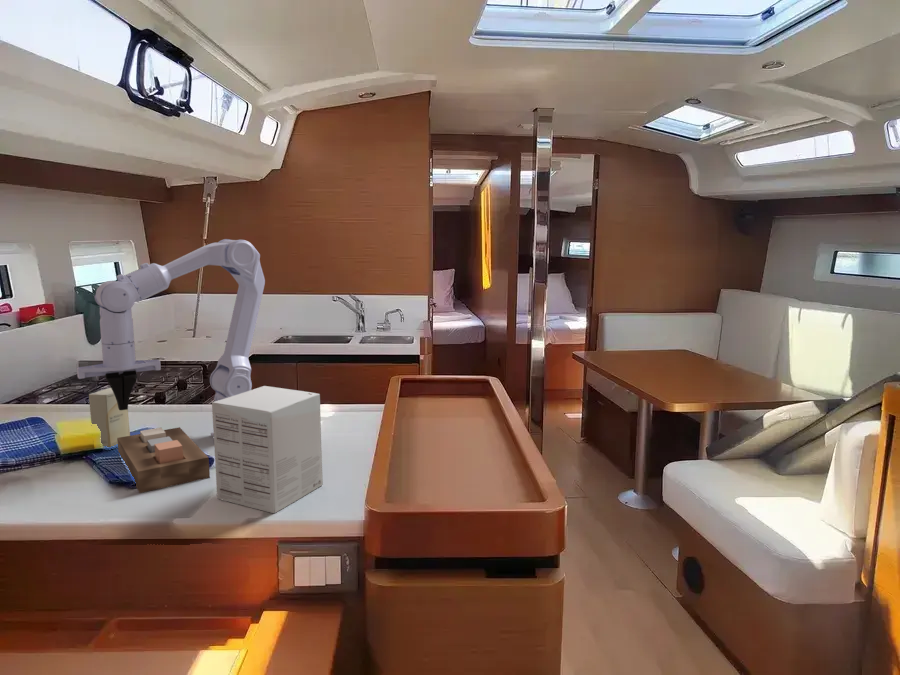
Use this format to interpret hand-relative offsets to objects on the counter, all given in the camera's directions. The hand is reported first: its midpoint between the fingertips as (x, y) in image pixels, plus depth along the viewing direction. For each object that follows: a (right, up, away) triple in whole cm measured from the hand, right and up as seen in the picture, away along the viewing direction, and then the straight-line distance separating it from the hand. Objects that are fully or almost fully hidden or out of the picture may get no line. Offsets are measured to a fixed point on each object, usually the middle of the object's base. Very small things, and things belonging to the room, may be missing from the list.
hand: (123, 408), depth 123 cm
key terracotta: (+13, -9, -9) cm, 18 cm away
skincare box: (-7, -9, +9) cm, 15 cm away
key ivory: (+5, -8, +3) cm, 10 cm away
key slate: (+9, -9, -3) cm, 13 cm away
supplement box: (+34, -13, -14) cm, 39 cm away
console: (+9, -11, -2) cm, 15 cm away
